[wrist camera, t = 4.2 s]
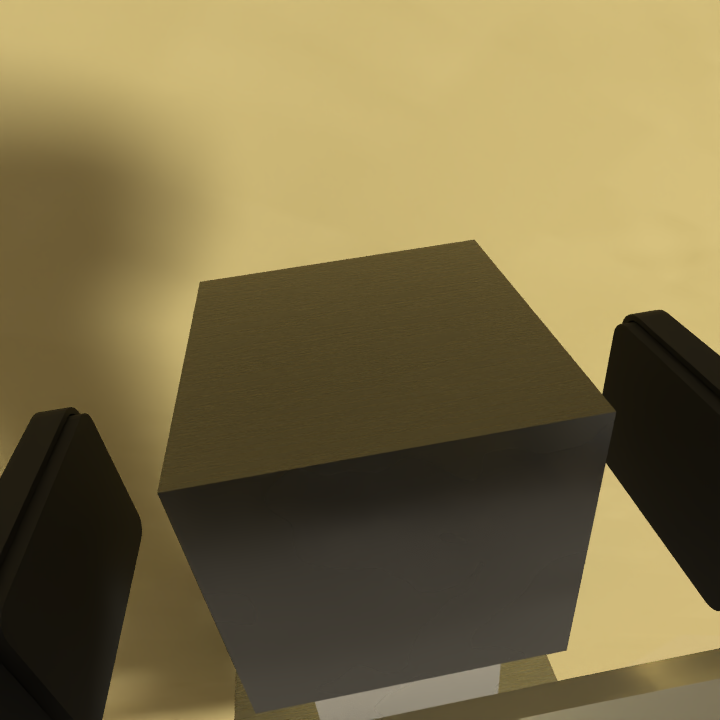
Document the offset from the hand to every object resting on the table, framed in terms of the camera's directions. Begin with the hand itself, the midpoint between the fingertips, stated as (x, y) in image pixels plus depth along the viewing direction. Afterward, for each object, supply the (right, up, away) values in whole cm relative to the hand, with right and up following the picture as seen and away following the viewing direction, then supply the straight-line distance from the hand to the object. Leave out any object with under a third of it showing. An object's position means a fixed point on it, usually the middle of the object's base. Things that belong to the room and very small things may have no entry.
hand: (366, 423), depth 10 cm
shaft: (+1, -10, +9) cm, 13 cm away
